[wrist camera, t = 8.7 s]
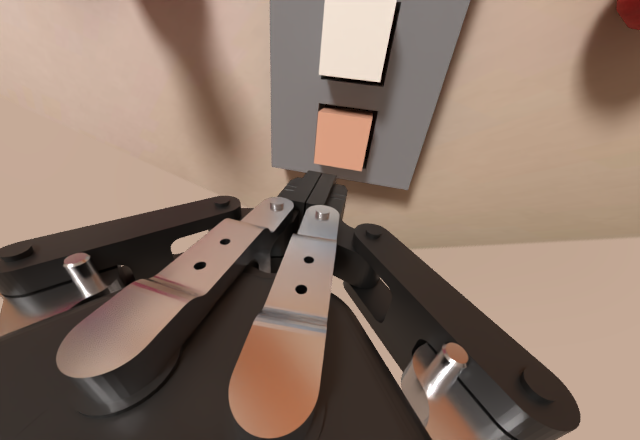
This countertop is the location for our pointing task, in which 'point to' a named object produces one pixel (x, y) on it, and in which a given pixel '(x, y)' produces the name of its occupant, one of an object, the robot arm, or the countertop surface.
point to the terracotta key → (342, 137)
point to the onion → (629, 12)
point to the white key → (355, 38)
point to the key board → (360, 87)
